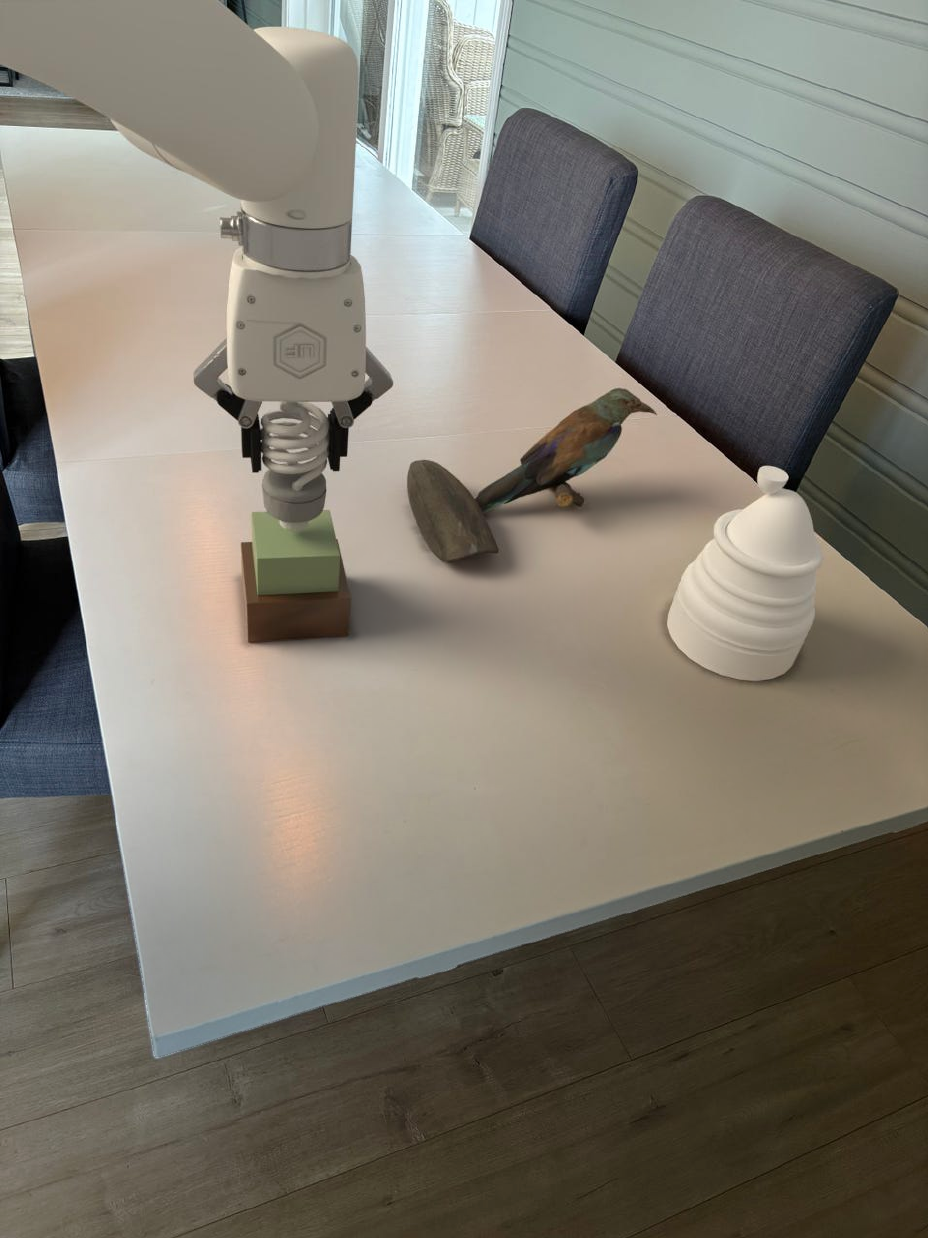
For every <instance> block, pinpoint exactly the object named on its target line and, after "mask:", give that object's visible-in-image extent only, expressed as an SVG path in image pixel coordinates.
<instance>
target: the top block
mask: <svg viewBox="0 0 928 1238" xmlns="http://www.w3.org/2000/svg"><path fill="white" fill-rule="evenodd" d="M250 514H251V542H252V549H253V558H254V567H255V576H256V585H257V593H258V595H275V594H295V593H315V592H334V591H338V588H339V567H340V553H339V549H338V544H337V540H336V539H337V537H336V531H335V526H334V522H333V517H332V514H331V510H330V509H323V511H322V513H321V514H320V515H319V516H318V517H316V518H314V519H312V520H310V521H309V522H308V526H307V527H305V529H303V530H301V531H297V532H292V531H288V530H286V529H284V528H283V527H282V526H281V525H280V520H278V519H276V518H274V517H272V516H271V515H270V514H268V512H267V511H251V513H250Z"/></svg>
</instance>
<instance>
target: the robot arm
mask: <svg viewBox="0 0 928 1238" xmlns="http://www.w3.org/2000/svg"><path fill="white" fill-rule="evenodd" d="M0 66H3V67H5V68H6V69H7V68H8V69H10V70H12V71H14V72H17V73H19V74H22V75H24V76H26V77H29V78H31V79H33V80H35V81H37V82H40V83H42V84H44V85H46V86H48V87H51V88H52V89H55V90H56V91H59V92H61V93H62V94H64V95H66V96H69V97H70V98H72V99H74V100H76V101H78V102H80V103H81V104H83V105H85V106H86V107H89V108H91V109H93V111H96V112H98V113H100V114H101V115H103V116H105V117H107V118H108V119H109V120H110V122H111V123H112V125H113V126H114V127H115V129H116V130H117V131H118V132H119V133H120V134H121V135H122V136H123V137H124V138H125V139H126V141H128V142H129V143H130V144H131V145H132V146H134V147H135V148H137V149H138V150H140V151H142V152H143V153H145V154H146V155H148V156H150V157H152V158H154V159H157V160H158V161H160V162H162V163H164V164H166V165H168V166H170V167H171V168H173V169H176V170H178V171H181V172H183V173H185V174H188V175H190V176H192V177H194V178H196V179H197V180H200V181H201V182H203V183H205V184H208V185H209V186H212V187H213V188H215V189H216V190H219V191H220V192H222V193H224V194H226V195H228V196H230V197H232V198H235V199H238V200H240V211H236V215H230V217H222V216H221V217H219V227H220V229H219V230H220V238H221V239H231V240H232V242H237V244H238V248H237V249H236V250H235V251H234V252H233V255H232V261H231V266H230V272H229V280H228V293H227V301H226V305H227V306H226V337H225V338H224V339H223V340H222V342H220V344H219V345H218V346H216V348H215V349H214V350H213V351H212V352H211V353H210V354H209V355H208V356H207V357H206V358H205V359H204V360H203V361H202V362H201V364H199V365H198V366H197V368H195V370H193V384H194V385H195V386H196V387H197V388H198V389H199V390H200V391H202V392H204V394H206V395H207V396H208V397H209V398H210V399H213V401H216V404H218V406H219V407H220V408H222V409H223V410H224V411H225V412H227V414H228V415H230V416H231V417H233V419H234V420H236V421H237V423H238V425H239V426H240V439H241V440H240V441H241V443H240V444H241V457H242V459H250V464H251V473H260V472H262V452H261V442H262V440H261V429H262V428H261V421H260V415H259V411H260V409H261V406H262V404H263V402H275V403H277V402H279V403H281V402H309V403H318V402H319V403H331V405H332V408H331V410H329V413H327V418H328V421H329V430H328V431H329V433H330V442H329V448H330V451H329V455H328V457H327V462H328V466H329V469H330V471H332V472H340V470H341V458H347V457H348V451H349V450H348V449H349V430H350V429H349V428H352V426H354V424H355V420H356V419H357V418H358V417H359V416H360V415H362V414H363V413H364V412H365V411H366V410H367V409H369V408H370V407H371V406H372V405H373V402H374V401H375V400H378V399H379V398H381V397H382V396H383V395H384V394H385V393H387V392H388V391H390V390H391V389H392V387H393V386H394V380H393V378H392V375H391V373H390V372H389V371H388V370H387V368H386V367H385V366H384V365H383V364H382V363H381V362H380V360H379V359H378V358H377V357H376V356H375V355H374V354H373V352H372V351H371V349H369V347H367V315H366V314H367V313H366V296H365V295H366V294H365V285H364V277H363V271H362V266H361V264H360V262H358V259H357V258H356V257H354V256H353V255H352V254H351V253H352V251H351V250H352V229H353V213H354V193H355V192H354V188H355V171H356V170H355V169H356V151H357V150H356V149H357V147H356V146H357V125H358V106H359V105H358V103H359V83H360V81H359V78H360V75H359V73H360V71H359V70H360V69H359V62H358V57H357V54H356V53H355V51H354V49H353V48H352V46H350V45H349V43H348V42H346V41H345V40H343V39H341V38H339V37H337V36H335V35H332V34H329V33H325V32H322V31H318V30H314V29H307V28H302V27H301V28H299V27H293V26H292V27H291V26H263V27H257V28H251V27H250V26H249V25H248V24H247V23H246V22H245V21H244V20H243V19H241V18H240V17H239V16H238V15H237V14H235V12H233V11H232V10H231V9H230V8H229V7H227V6H226V5H225V4H223V2H221V1H220V0H0ZM226 370H227V373H228V374H227V375H228V381H229V384H228V383H225V382H223V381H222V380H223V379H221V378H220V376H221V375H222V374H223V373H224V372H225V371H226ZM366 375H367V376H368V377H369V378H368V379H367V380H366Z"/></svg>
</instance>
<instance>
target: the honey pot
mask: <svg viewBox="0 0 928 1238" xmlns="http://www.w3.org/2000/svg"><path fill="white" fill-rule="evenodd" d="M756 476H757V477H756V481H757V486H758V488H759V490H760V491H761V492H762V493H764V495H762V496H760V497H758V498H757V499H756V500H754V501H752V503H750V504H749V505H748V506H746V507H745V508H741V509H739V508H738V509H734V510H731V511H730V510H729V511H727V512H725V513H724V514H722V515H720V516H719V517H718V518H717V519H716V521H715V523H714V524H713V538H712V539H711V540H710V541H708V542H707V543H706V544H705V546H704V548H703V549H702V551H700V552H699V554H698V555H697V557H696V558H695V560H693V561H692V562H691V563H689V564H688V565H687V567H686V568H685V570H684V572H683V574H682V575H681V577H680V582H679V584H678V587H677V589H676V591H675V594H674V597H673V599H672V602H671V604H670V608H669V611H668V613H667V622H666V626H667V631H668V633H669V636H670V638H671V639H672V641H673V642H674V644H675V645H676V648H678V649H679V650H680V651H681V652H682V653H683V654H684V655H685V656H687V658H689V659H690V660H691V661H693V662H695V663H696V664H698V665H699V666H701V667H702V668H704V669H706V670H708V671H711V672H713V673H716V674H718V675H720V676H723V677H728V678H732V679H736V680H738V681H753V682H759V681H768V680H773V679H775V678H778V677H780V676H783V675H784V674H786V673H787V672H788V671H789V670H790V669H791V668H792V667H793V665H794V663H795V661H796V660H797V657H798V655H799V653H800V651H801V649H802V647H803V645H804V643H805V641H806V638H807V637H808V634H809V631H810V630H811V628H812V625H813V623H814V620H815V617H816V610H815V601H816V590H817V587H818V580H817V575H816V571H817V570H818V569H820V568H821V566H822V564H823V561H824V557H825V556H824V549H823V546H822V544H821V543H820V541H819V539H818V538H817V537H816V536H815V530H814V524H813V520H812V519H813V518H812V515H811V512H810V510H809V506H807V503H806V501H805V500H804V498H803V497H802V496H801V495H800V494H799V493H797V492H796V491H794V490H791V489H786V488H784V486H785V485H786V484H787V482H788V480H789V475H788V473H787V472H786V471H785V470H783V469H781V468H779V467H776V466H772V465H763V466H761V467H759V469H758V472H757V475H756Z"/></svg>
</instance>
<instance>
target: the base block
mask: <svg viewBox="0 0 928 1238" xmlns="http://www.w3.org/2000/svg"><path fill="white" fill-rule="evenodd" d="M336 540H337V544H338V549H339V553H340V567H339V588H338V591H334V592H315V593H295V594H275V595H258V593H257V585H256V576H255V567H254V558H253V549H252V541H241V542H240V559H241V560H240V562H241V563H240V564H241V584H242V595H243V604H244V616H245V625H246V627H245V628H246V637H247V642H248V643H257V642H258V643H259V642H261V643H262V642H274V641H276V642H277V641H291V640H305V639H306V640H307V639H321V638H322V639H323V638H337V637H349V635H350V626H351V625H350V622H351V609H352V605H351V604H352V596H351V592H350V588H349V587H350V586H349V582H348V578H347V574H346V569H345V566H344V562H343V561H344V560H343V556H342V552H341V548H340V547H341V546H340V544H339V539H338V538H336Z"/></svg>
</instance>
